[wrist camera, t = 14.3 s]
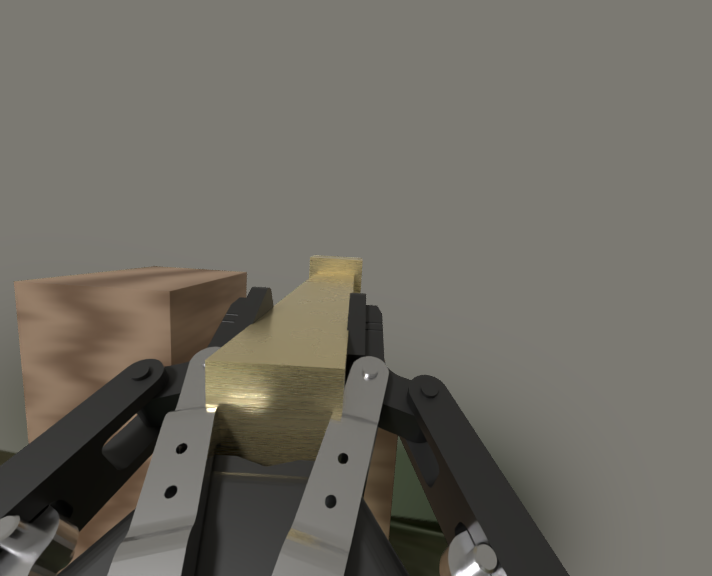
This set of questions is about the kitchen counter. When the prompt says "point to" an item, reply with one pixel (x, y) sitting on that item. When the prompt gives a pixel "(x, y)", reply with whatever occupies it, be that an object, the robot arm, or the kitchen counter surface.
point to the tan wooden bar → (286, 370)
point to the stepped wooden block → (133, 355)
